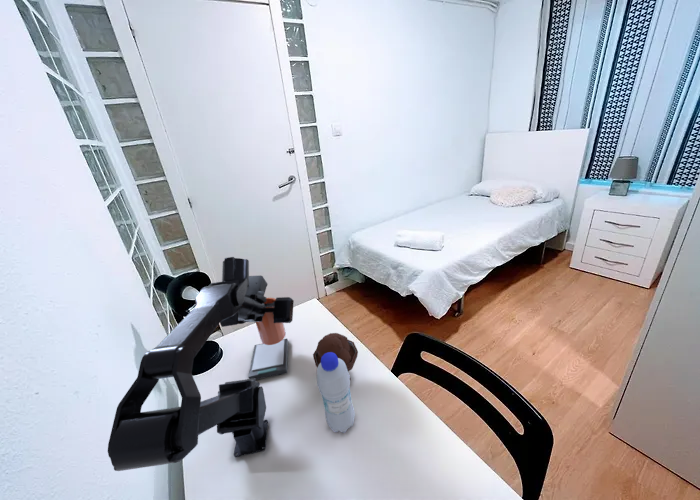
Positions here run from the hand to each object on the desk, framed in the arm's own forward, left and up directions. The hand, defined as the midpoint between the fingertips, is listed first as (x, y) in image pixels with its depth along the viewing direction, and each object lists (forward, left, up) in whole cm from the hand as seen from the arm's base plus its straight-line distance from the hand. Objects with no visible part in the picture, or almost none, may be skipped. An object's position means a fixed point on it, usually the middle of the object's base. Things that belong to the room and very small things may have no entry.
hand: (270, 314), depth 78 cm
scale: (-3, +3, -13) cm, 14 cm away
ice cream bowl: (-15, -16, -13) cm, 26 cm away
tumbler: (-1, 0, -7) cm, 7 cm away
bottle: (-26, -15, -13) cm, 33 cm away
